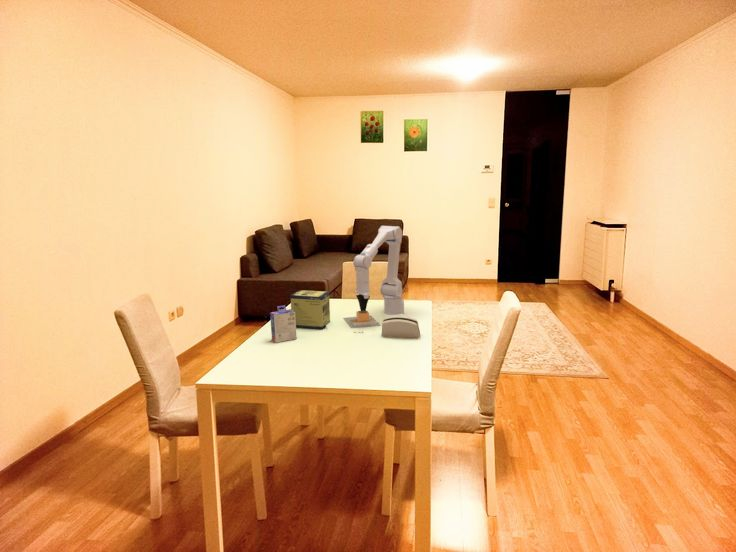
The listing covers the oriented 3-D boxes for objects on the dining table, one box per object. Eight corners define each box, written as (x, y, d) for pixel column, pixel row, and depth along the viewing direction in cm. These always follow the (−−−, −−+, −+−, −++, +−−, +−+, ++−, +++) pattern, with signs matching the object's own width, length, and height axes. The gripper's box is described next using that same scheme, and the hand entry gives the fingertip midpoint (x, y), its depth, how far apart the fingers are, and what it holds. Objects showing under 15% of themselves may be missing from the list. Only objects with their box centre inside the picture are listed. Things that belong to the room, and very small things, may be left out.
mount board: (371, 317, 250) (371, 315, 250) (381, 327, 233) (380, 325, 233) (342, 319, 247) (342, 317, 247) (350, 330, 230) (350, 328, 230)
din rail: (373, 321, 241) (373, 317, 240) (376, 325, 234) (376, 321, 234) (350, 322, 238) (350, 319, 238) (353, 327, 232) (353, 323, 231)
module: (367, 321, 239) (366, 309, 237) (369, 323, 235) (369, 312, 234) (356, 322, 237) (356, 310, 236) (358, 324, 233) (358, 313, 232)
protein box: (323, 330, 231) (321, 296, 228) (291, 327, 236) (289, 294, 233) (330, 323, 241) (329, 291, 238) (300, 321, 246) (298, 289, 243)
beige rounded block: (420, 334, 223) (420, 315, 218) (419, 340, 219) (418, 321, 214) (382, 332, 227) (381, 313, 222) (381, 338, 223) (379, 320, 218)
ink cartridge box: (292, 335, 224) (290, 303, 221) (297, 339, 219) (296, 306, 216) (270, 339, 219) (269, 306, 216) (275, 343, 214) (273, 309, 211)
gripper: (350, 278, 238) (351, 307, 241) (357, 285, 224) (358, 315, 227) (365, 278, 240) (365, 306, 243) (373, 284, 226) (373, 313, 229)
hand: (363, 310), depth 235 cm, fingers closed
